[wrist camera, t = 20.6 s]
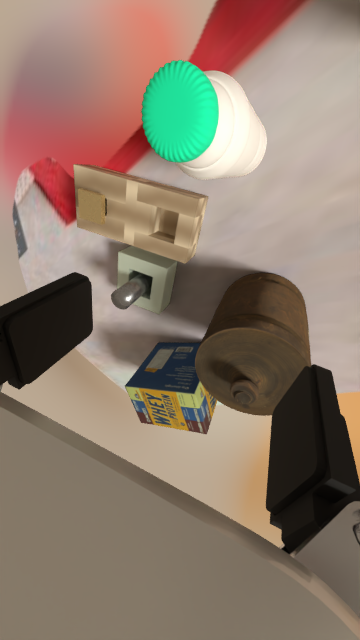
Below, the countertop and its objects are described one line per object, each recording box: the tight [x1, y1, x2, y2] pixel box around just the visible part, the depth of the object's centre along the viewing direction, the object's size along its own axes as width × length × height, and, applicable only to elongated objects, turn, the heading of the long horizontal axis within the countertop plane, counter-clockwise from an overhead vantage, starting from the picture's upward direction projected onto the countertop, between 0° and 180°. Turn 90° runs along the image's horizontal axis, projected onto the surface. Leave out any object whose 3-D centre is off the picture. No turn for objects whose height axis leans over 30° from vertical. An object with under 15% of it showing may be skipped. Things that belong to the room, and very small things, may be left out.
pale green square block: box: [117, 246, 178, 315], centre depth 48 cm, size 10×10×5 cm
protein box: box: [125, 343, 217, 434], centre depth 52 cm, size 10×15×16 cm
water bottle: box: [141, 60, 267, 180], centre depth 24 cm, size 7×7×25 cm
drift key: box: [78, 188, 107, 225], centre depth 41 cm, size 4×4×5 cm
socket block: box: [74, 164, 208, 263], centre depth 41 cm, size 10×22×5 cm, turn 79°
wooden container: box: [195, 273, 311, 415], centre depth 36 cm, size 15×15×22 cm
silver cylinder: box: [111, 273, 153, 309], centre depth 45 cm, size 4×4×11 cm
